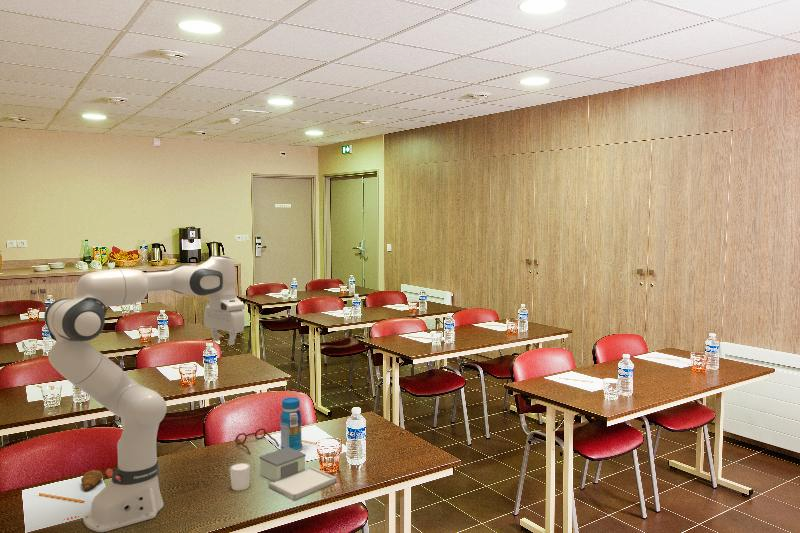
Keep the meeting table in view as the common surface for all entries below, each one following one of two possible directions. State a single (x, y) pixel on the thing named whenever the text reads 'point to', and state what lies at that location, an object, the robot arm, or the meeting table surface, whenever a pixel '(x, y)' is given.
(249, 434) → the glasses
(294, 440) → the beverage bottle
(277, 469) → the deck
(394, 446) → the meeting table surface
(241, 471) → the white cup
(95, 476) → the croissant
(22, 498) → the meeting table surface
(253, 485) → the meeting table surface
